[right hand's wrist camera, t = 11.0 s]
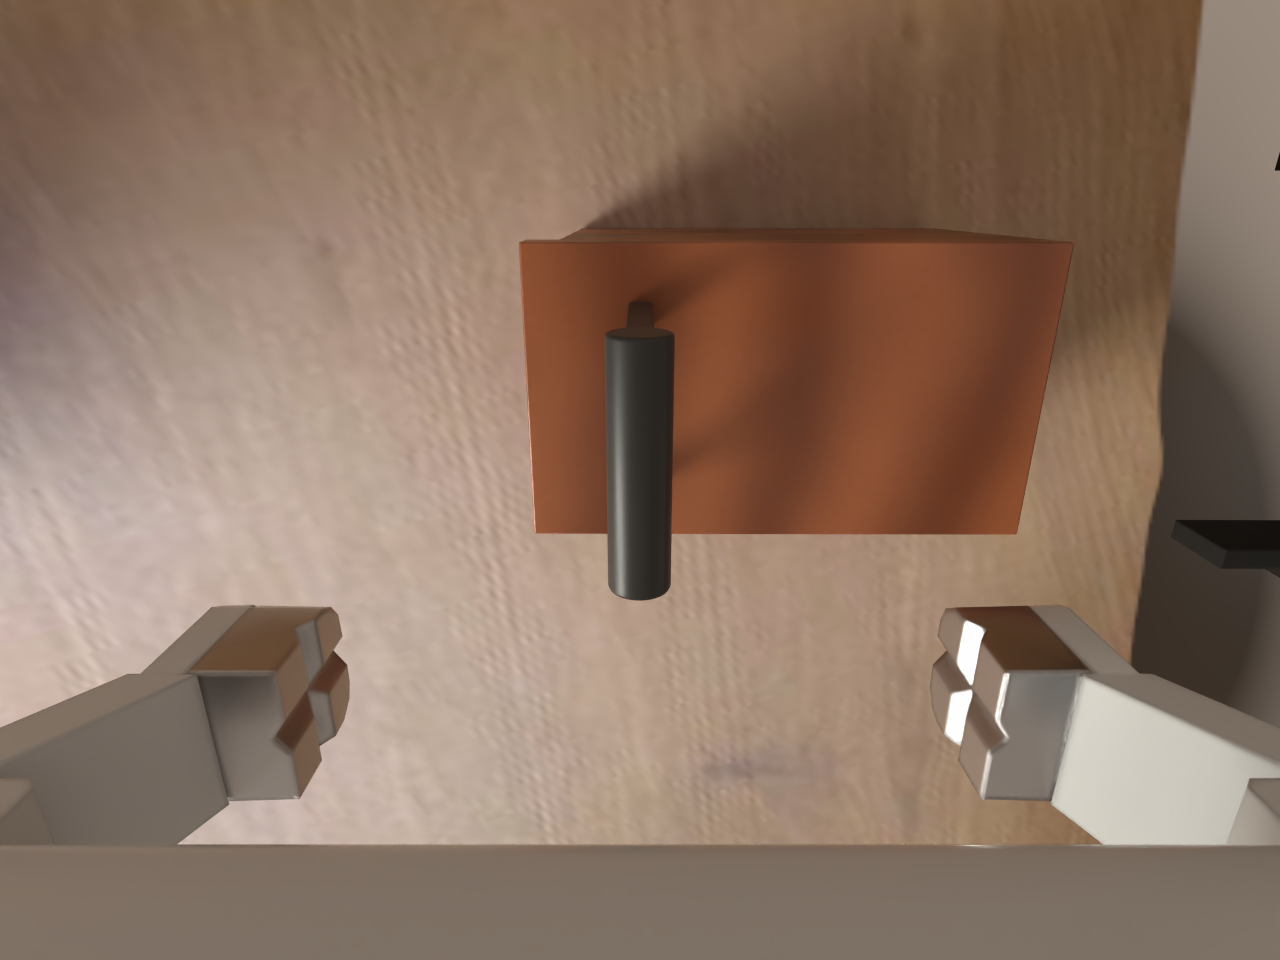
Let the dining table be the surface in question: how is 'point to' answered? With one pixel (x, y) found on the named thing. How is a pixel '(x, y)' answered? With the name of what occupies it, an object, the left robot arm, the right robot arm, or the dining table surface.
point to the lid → (782, 388)
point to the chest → (779, 234)
